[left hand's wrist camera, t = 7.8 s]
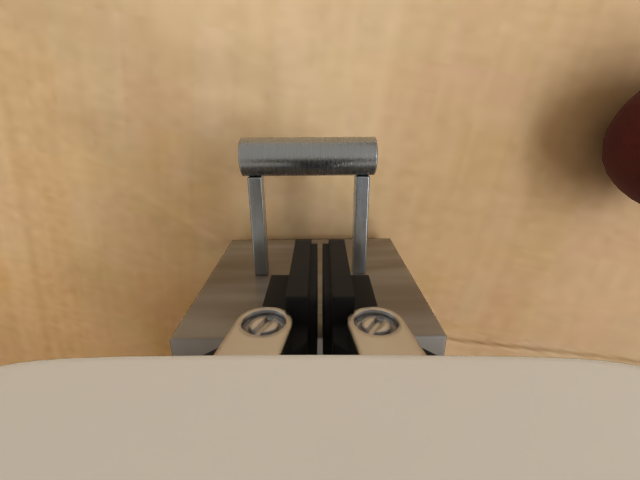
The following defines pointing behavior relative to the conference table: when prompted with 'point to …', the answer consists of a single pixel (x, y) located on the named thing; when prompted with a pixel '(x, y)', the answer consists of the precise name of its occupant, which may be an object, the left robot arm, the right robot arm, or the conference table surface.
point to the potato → (624, 149)
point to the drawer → (276, 255)
